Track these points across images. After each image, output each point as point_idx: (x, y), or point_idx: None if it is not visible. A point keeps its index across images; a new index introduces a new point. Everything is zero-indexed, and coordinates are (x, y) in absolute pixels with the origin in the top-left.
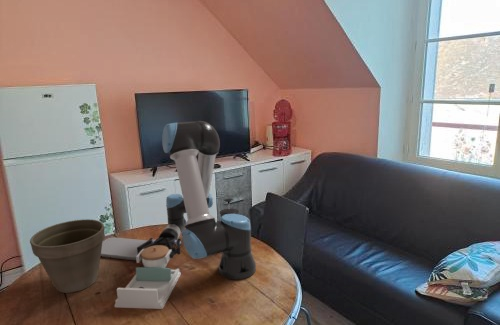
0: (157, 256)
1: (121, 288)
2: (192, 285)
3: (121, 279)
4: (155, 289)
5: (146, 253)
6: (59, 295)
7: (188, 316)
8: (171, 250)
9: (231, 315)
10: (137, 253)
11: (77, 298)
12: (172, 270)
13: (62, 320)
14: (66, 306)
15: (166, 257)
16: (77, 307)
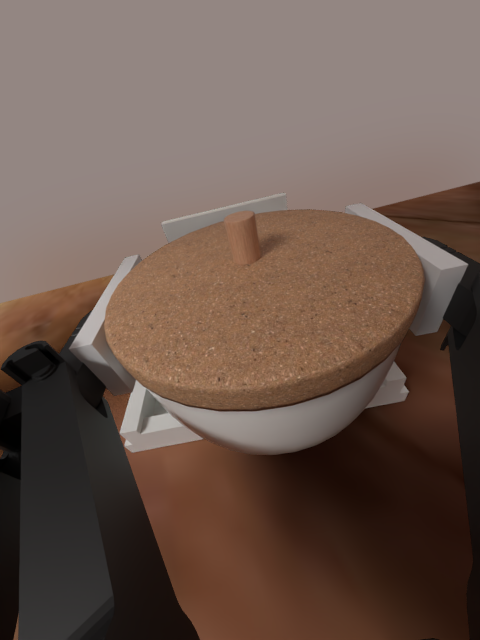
0: (187, 234)
1: (272, 197)
2: None
3: (443, 328)
4: (166, 222)
5: (298, 221)
6: None
7: (109, 281)
8: (79, 343)
9: (13, 306)
10: (429, 238)
11: (453, 232)
12: (168, 418)
13: (379, 207)
14: (435, 216)
15: (125, 258)
16: (399, 223)
